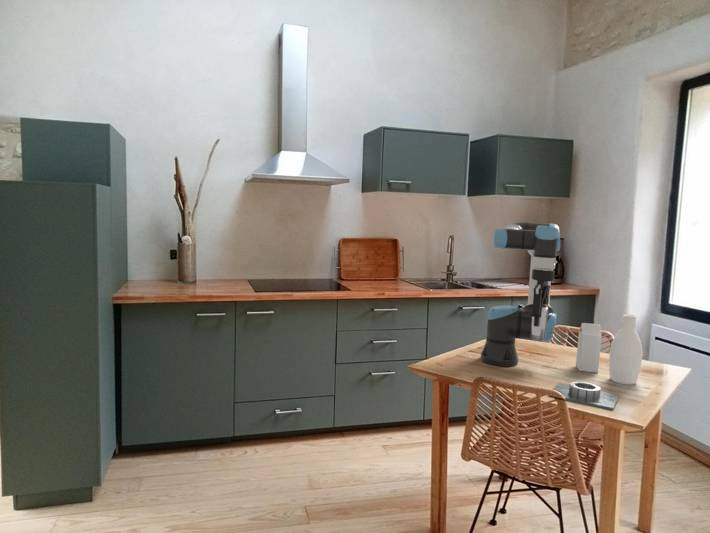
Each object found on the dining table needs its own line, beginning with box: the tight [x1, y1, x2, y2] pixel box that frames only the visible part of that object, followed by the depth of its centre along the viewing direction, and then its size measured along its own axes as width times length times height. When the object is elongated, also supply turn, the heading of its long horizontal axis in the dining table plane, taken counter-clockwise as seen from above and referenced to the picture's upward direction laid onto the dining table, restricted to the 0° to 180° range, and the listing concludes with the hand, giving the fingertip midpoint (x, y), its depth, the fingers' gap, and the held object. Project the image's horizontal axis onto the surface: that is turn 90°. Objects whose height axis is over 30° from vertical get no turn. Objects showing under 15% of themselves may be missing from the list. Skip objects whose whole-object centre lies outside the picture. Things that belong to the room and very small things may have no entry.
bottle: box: [608, 313, 643, 386], centre depth 202 cm, size 11×11×25 cm
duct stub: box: [530, 304, 548, 342], centre depth 191 cm, size 5×5×13 cm
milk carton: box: [575, 322, 603, 374], centre depth 216 cm, size 7×7×19 cm
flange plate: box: [552, 380, 620, 411], centre depth 183 cm, size 20×16×4 cm
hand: (538, 333), depth 192 cm, fingers closed on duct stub, 5 cm apart
